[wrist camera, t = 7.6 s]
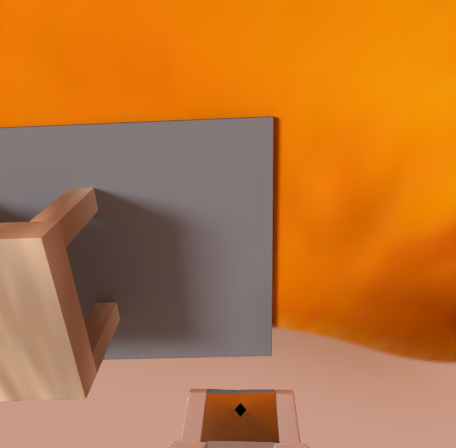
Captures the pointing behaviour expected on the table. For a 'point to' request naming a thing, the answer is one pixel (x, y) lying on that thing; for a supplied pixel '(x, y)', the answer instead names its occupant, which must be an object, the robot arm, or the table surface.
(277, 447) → the robot arm
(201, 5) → the table surface
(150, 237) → the mat
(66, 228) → the stool
